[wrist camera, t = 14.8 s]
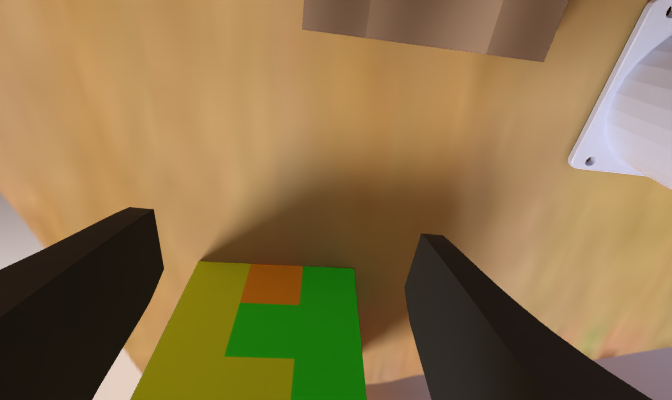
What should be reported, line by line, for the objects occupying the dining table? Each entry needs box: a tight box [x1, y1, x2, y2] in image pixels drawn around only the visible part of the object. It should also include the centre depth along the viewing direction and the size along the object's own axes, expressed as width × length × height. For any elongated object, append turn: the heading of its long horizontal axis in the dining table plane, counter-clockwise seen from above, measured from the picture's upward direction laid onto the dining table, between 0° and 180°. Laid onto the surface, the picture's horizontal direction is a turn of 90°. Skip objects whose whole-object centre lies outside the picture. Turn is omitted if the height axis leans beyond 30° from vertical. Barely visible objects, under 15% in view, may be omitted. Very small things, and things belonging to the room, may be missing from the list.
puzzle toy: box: [130, 261, 367, 400], centre depth 20 cm, size 10×10×10 cm
